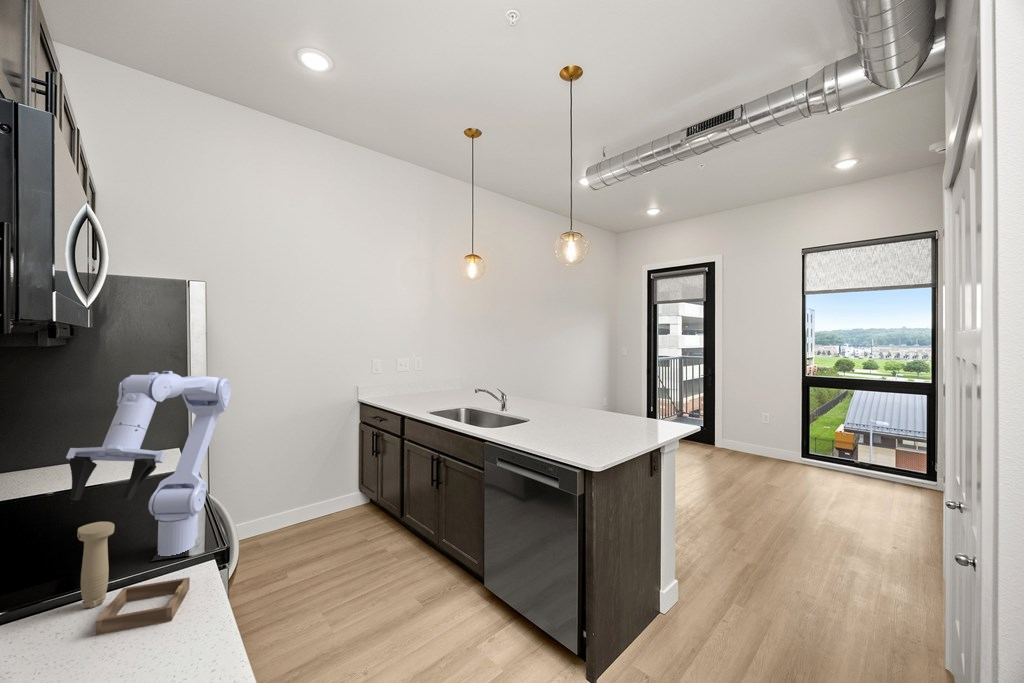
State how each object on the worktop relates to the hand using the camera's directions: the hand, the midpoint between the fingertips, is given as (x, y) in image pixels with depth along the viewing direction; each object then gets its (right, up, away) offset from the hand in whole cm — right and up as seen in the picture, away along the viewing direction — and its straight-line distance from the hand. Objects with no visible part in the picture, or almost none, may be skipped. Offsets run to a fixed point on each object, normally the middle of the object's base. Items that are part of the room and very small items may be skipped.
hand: (100, 499), depth 79 cm
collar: (+7, -22, +2) cm, 23 cm away
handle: (-5, -22, +3) cm, 23 cm away
